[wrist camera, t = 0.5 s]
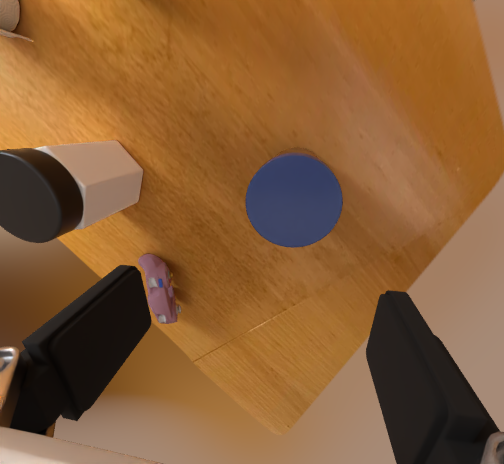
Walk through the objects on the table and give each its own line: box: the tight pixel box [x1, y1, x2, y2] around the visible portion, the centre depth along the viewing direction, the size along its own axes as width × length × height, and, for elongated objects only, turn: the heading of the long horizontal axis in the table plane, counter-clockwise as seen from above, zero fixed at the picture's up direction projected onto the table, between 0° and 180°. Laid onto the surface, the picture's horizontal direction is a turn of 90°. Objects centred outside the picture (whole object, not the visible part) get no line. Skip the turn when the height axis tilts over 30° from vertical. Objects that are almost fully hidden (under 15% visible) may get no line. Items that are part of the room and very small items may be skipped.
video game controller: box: [138, 254, 181, 324], centre depth 34 cm, size 10×5×7 cm, turn 4°
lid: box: [246, 153, 343, 247], centre depth 18 cm, size 7×7×2 cm
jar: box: [0, 140, 143, 243], centre depth 26 cm, size 9×8×12 cm
